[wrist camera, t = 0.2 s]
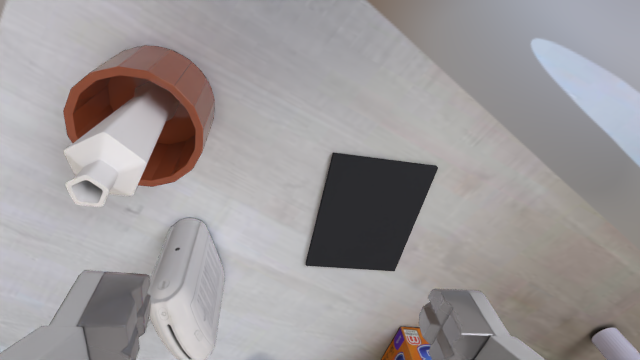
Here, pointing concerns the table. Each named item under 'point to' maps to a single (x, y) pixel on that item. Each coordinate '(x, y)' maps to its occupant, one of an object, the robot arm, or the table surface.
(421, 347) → the game box
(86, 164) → the white pentagonal vase
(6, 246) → the table surface
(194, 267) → the photo printer
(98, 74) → the desk pot
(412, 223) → the mat
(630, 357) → the perfume bottle
